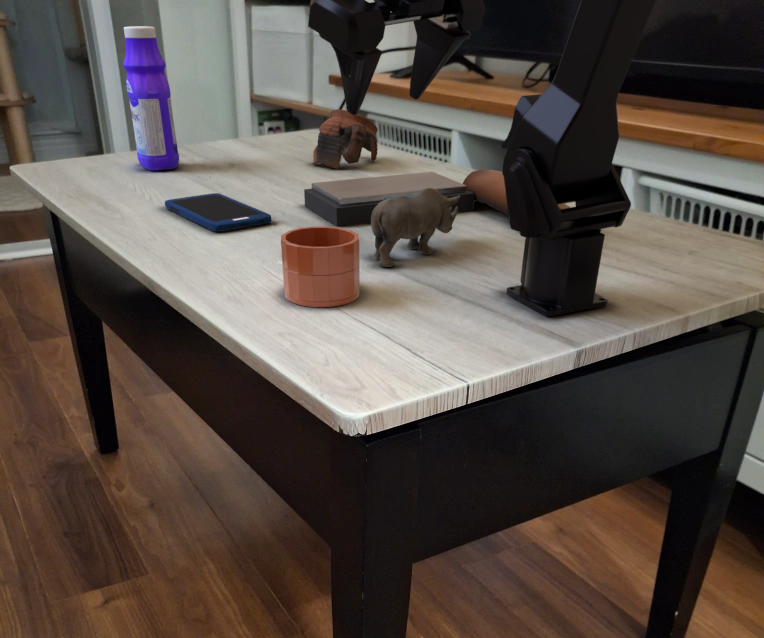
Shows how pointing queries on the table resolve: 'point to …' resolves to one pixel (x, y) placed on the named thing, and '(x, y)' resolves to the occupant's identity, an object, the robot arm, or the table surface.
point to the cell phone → (217, 212)
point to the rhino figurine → (411, 221)
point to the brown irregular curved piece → (345, 139)
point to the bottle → (149, 100)
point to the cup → (320, 266)
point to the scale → (377, 195)
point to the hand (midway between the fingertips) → (383, 105)
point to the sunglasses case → (490, 189)
